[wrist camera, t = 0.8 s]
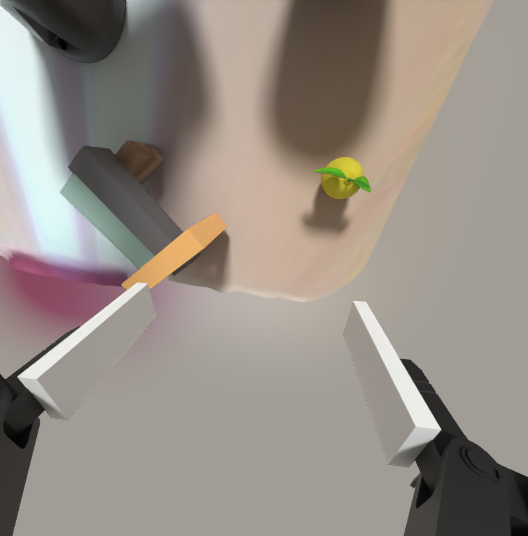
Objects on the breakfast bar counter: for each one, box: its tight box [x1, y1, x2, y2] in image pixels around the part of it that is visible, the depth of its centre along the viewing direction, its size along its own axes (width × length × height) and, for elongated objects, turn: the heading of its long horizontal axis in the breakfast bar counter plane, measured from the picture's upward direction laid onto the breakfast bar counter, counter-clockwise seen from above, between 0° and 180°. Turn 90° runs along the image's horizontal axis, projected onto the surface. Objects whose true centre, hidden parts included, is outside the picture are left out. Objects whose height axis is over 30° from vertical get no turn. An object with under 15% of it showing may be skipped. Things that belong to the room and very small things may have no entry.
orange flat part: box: [121, 213, 227, 290], centre depth 32 cm, size 3×14×11 cm, turn 126°
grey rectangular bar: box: [68, 146, 201, 276], centre depth 30 cm, size 19×4×4 cm, turn 36°
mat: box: [60, 173, 155, 269], centre depth 40 cm, size 23×7×1 cm, turn 36°
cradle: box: [115, 141, 164, 184], centre depth 34 cm, size 17×10×6 cm, turn 36°
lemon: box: [313, 157, 371, 199], centre depth 28 cm, size 7×6×10 cm
